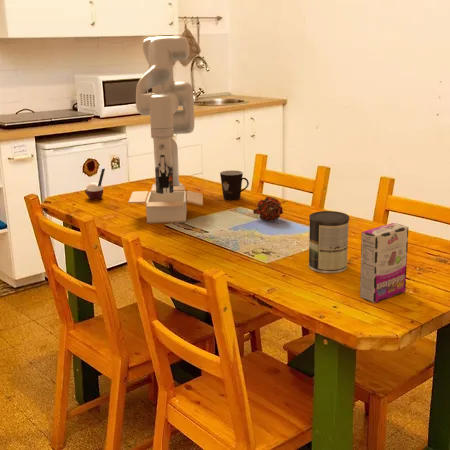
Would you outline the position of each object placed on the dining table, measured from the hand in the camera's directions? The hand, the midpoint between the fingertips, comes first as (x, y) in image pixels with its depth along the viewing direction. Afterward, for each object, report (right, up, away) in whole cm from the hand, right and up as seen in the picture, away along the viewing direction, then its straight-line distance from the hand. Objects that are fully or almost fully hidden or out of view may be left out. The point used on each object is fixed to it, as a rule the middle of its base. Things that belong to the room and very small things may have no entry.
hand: (164, 185), depth 217 cm
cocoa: (-29, -4, +30) cm, 42 cm away
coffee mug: (+24, -4, +25) cm, 35 cm away
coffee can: (+48, -25, -47) cm, 72 cm away
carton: (-2, -11, +3) cm, 11 cm away
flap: (+7, -4, +1) cm, 8 cm away
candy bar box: (+58, -30, -66) cm, 93 cm away
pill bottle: (0, -3, +1) cm, 3 cm away
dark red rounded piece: (+35, -12, -3) cm, 37 cm away
